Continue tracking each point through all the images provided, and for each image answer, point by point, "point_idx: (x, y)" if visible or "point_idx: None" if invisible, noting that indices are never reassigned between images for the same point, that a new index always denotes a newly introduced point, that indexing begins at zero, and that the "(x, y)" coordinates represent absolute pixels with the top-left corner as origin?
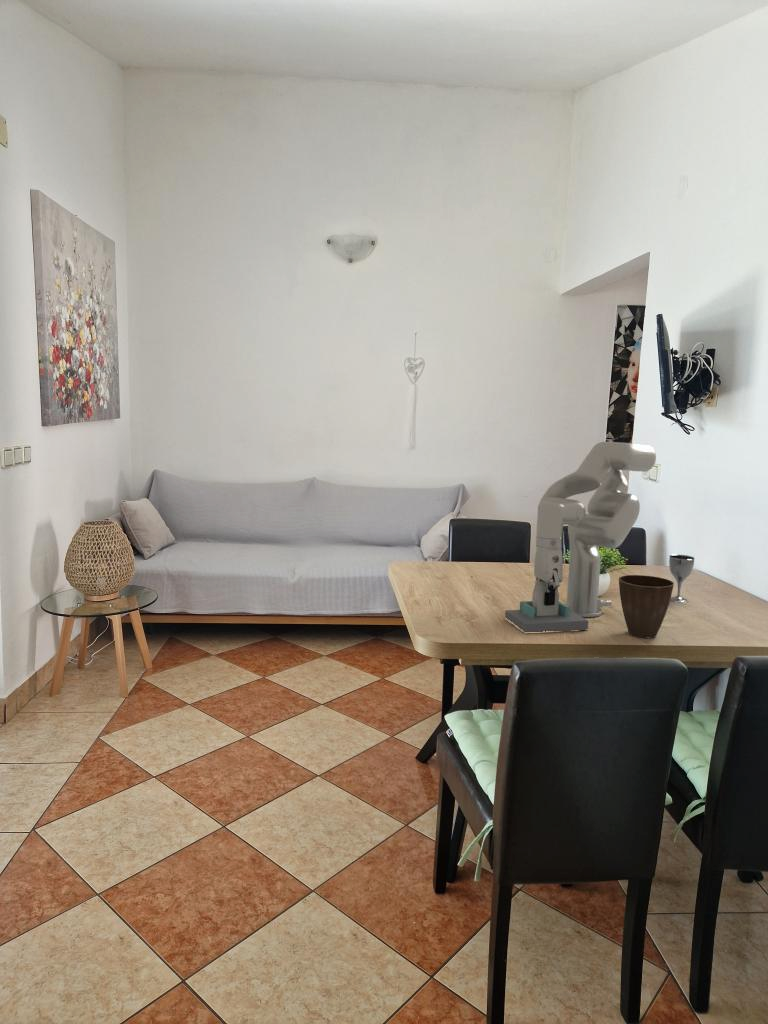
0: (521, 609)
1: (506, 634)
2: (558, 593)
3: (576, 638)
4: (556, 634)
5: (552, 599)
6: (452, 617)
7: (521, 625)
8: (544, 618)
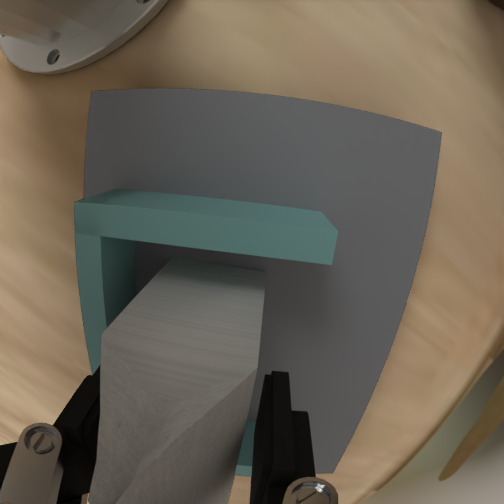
0: None
1: None
2: (239, 385)
3: (473, 281)
4: (394, 338)
5: (306, 438)
6: None
7: None
8: (294, 382)
